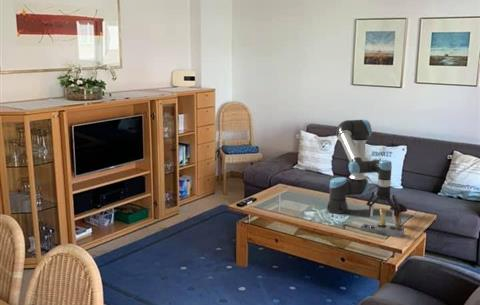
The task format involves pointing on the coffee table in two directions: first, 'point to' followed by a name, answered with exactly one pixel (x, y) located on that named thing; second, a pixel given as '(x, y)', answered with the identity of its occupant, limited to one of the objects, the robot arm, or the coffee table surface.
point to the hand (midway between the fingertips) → (382, 218)
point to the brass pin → (382, 217)
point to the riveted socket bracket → (384, 230)
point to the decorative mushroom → (399, 214)
